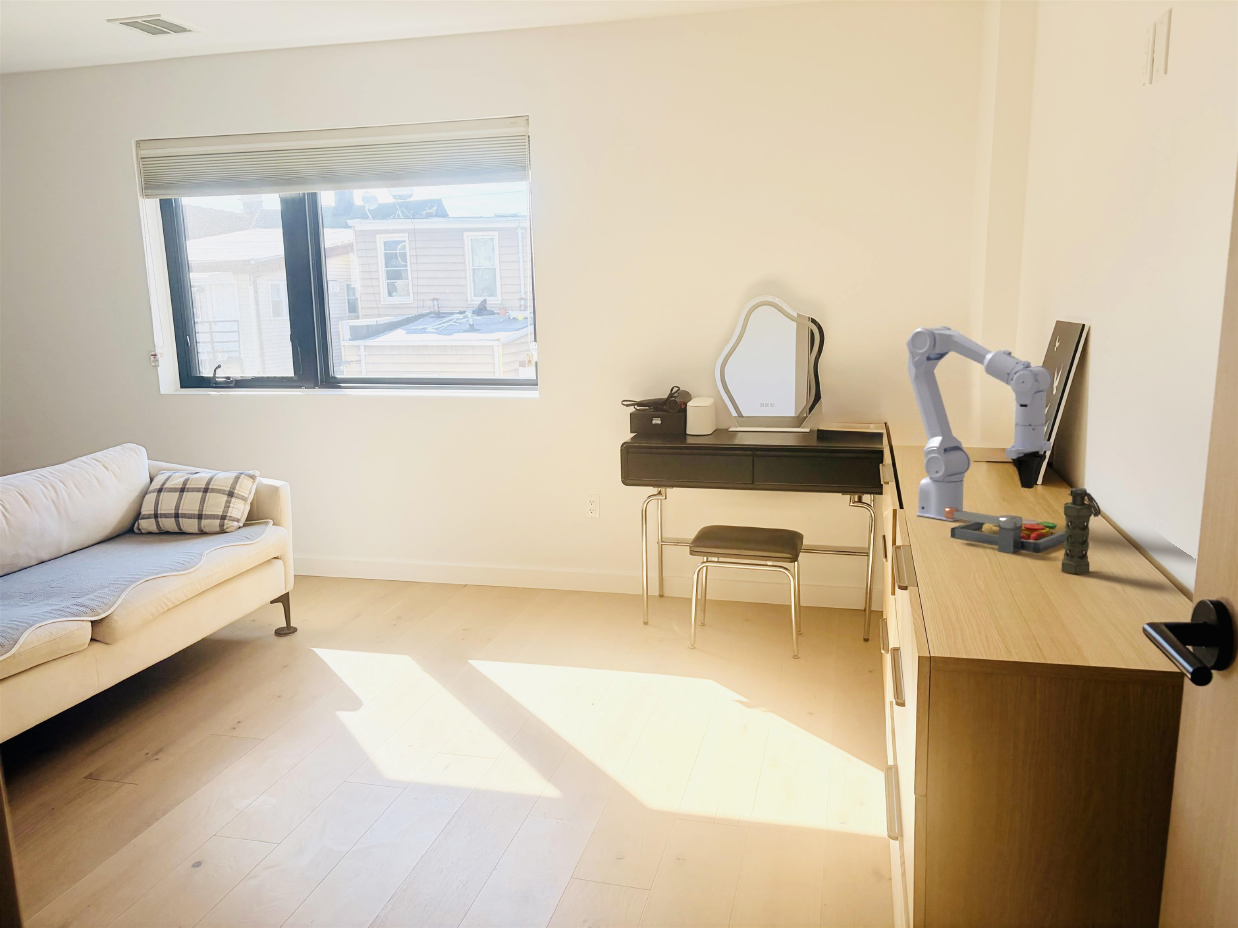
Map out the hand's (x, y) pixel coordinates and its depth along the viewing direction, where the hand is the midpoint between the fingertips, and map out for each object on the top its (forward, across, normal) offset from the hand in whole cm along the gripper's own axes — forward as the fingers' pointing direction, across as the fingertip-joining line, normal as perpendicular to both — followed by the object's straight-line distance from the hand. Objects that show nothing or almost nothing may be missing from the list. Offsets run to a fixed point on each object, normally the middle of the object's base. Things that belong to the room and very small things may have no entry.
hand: (1027, 487), depth 183 cm
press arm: (+5, -18, -1) cm, 18 cm away
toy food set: (+10, -6, -2) cm, 12 cm away
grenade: (+10, -21, -22) cm, 31 cm away
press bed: (+9, -10, -1) cm, 14 cm away
